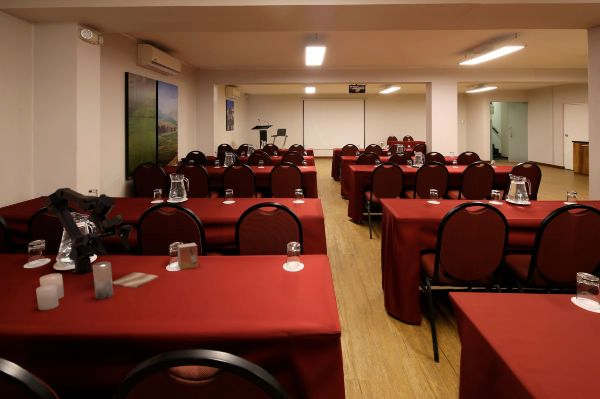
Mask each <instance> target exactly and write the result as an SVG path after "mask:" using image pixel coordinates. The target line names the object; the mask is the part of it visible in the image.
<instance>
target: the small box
mask: <svg viewBox="0 0 600 399" xmlns="http://www.w3.org/2000/svg"><path fill="white" fill-rule="evenodd" d="M176 247H177V265H178V266H177V267H178V268H179V270H188V269H195V268H199V263H198V262H199V260H198V258H199V256H198V245H197V244H196V243H195V242H191V243H183V244H182V243H181V244H177V245H176Z"/></svg>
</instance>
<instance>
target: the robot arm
mask: <svg viewBox="0 0 600 399" xmlns="http://www.w3.org/2000/svg"><path fill="white" fill-rule="evenodd" d="M69 202H71V203H73V204H75V205H76V206H77V208H78V209H79V210H80V211H82V212H83V213H84V212H90V213H88V217H87V221H91V222H92V223H93V226H94V230H95V231H93V232H88V233H86V234H85V235H84V234H83V233H82V231H81V229H80V227H79V226H78V224H77V223H76V221H75V220H74V217H73V215H72V214H71V212H70V211H69V206H70V204H69ZM115 205H116V201H115V199H114V198H113V197H111V196H109V195H106V194H105V193H102V194H100V195H99V196H96V195H86V194H83V193H81V192H78V191H75V190H73V189H71V187H60V188H58V189H56V190H55V191H54V192H52V193H51V194H49V195H48V196H47V197H45V199H44V207H46V208H47V210H48V211H49V212H50V213H52V214H54V215H56V216H57V218H58V220H59V222H60V223H61V225H62V227H63V229H64V230H65V232H66V234H67V236H68V237H69V239H70V240H71V244H70V248H71V251H70V252H69V254H68V258H69V259H68V260H70V261H72V262H74V270H72V271H71V273H73V274H81V275H84V274H86V273H89V272H91V271H92V272H93V266H92V260H91V257H95V252H96V251H98V252H100V253H102V254H103V255H104V256H108V251H107V249H106V247H105V245H104V244H103V242H102V240H103V239H107V238H112V237H116V236H118V238H120V239H119V240H120V241H121V243H122V244H123V246H124V247H125V248H126V249H127V251H128V250H130V241H129V239H130V238H129V237H130V235H131V234H132V232H133V231H134V228H133V226H132V225H130V224H127V225H122V226H120V228H119V230H118V227H117V226H118V225H120V224H122V223H123V221H124V220H123V217H122V215H121V214H118V215H115V216H114V217H108V214H110V212H111V210H112V209H113V208H114V206H115Z"/></svg>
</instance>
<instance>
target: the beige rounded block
mask: <svg viewBox="0 0 600 399" xmlns="http://www.w3.org/2000/svg"><path fill="white" fill-rule="evenodd" d="M39 283H40V286H39V287H41V286H44V285H50V284H53V285H56V286H57V295H58V300H59V299H61V298H63V297H65V292H64V290H65V289H64V281H63V274H61V273H50V274H46V275H43V276H41V277H39Z"/></svg>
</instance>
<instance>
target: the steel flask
mask: <svg viewBox="0 0 600 399" xmlns="http://www.w3.org/2000/svg"><path fill="white" fill-rule="evenodd" d="M92 268H93V270H92V273H93V285H94V294H95V295H94V296H95V299H97V300H106V299H110V298H111V297H113V296H114V286H113V285H114V284H112V282H113V274H112V264H111V262H110V261H99V262H96V263H93V264H92Z"/></svg>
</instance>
